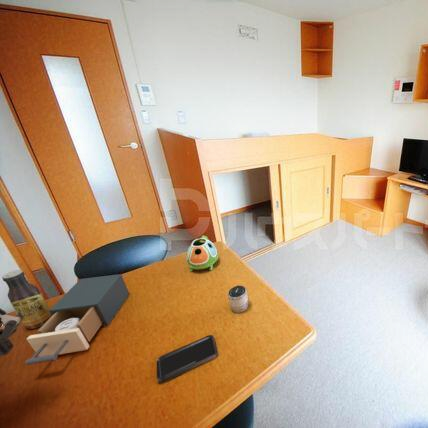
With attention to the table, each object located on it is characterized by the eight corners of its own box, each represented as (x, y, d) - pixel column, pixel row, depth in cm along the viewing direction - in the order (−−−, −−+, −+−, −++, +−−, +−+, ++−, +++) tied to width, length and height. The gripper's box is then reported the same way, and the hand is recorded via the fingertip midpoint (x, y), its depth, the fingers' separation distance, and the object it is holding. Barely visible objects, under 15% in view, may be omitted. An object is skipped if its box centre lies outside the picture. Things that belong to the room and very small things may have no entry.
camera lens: (250, 300, 89) (248, 283, 86) (246, 313, 84) (243, 296, 80) (233, 300, 89) (230, 284, 86) (228, 313, 83) (224, 296, 80)
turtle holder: (221, 249, 120) (217, 228, 115) (216, 271, 104) (211, 248, 99) (194, 252, 117) (189, 231, 112) (185, 275, 101) (179, 252, 96)
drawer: (73, 369, 65) (60, 350, 61) (22, 378, 62) (6, 359, 59) (112, 313, 82) (103, 296, 78) (73, 319, 79) (62, 301, 76)
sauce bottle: (25, 333, 75) (-11, 285, 67) (28, 321, 79) (-5, 273, 71) (54, 322, 79) (24, 275, 71) (56, 311, 83) (27, 265, 75)
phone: (156, 357, 68) (212, 333, 75) (157, 360, 68) (213, 335, 75) (156, 383, 62) (217, 354, 69) (158, 385, 62) (218, 356, 69)
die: (84, 326, 76) (78, 314, 74) (84, 336, 72) (77, 325, 70) (62, 335, 73) (55, 323, 71) (61, 346, 69) (53, 335, 67)
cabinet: (108, 325, 78) (97, 304, 74) (62, 332, 76) (48, 310, 72) (129, 293, 91) (121, 274, 87) (91, 299, 89) (80, 278, 85)
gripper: (-115, 315, 42) (-51, 375, 49) (-21, 303, 45) (27, 361, 52) (-64, 286, 49) (-15, 343, 56) (15, 277, 51) (53, 332, 59)
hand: (5, 352), depth 54 cm, fingers closed
